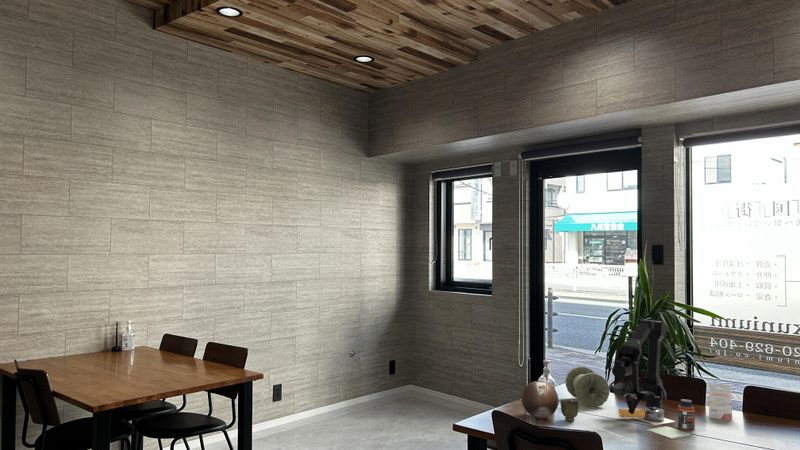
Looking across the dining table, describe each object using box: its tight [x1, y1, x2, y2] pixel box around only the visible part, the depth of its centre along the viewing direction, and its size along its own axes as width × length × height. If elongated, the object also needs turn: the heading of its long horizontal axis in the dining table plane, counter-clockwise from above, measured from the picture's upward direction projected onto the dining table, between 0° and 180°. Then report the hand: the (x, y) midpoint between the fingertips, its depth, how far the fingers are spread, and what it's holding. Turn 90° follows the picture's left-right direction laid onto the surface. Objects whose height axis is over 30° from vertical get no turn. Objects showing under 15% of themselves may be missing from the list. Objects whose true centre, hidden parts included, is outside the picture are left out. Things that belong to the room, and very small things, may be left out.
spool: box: [565, 366, 610, 409], centre depth 267 cm, size 16×15×15 cm
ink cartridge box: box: [707, 382, 733, 421], centre depth 243 cm, size 9×5×15 cm, turn 62°
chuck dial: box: [618, 406, 665, 422], centre depth 239 cm, size 18×8×5 cm, turn 91°
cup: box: [559, 399, 580, 423], centre depth 237 cm, size 8×7×8 cm
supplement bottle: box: [677, 398, 696, 431], centre depth 227 cm, size 6×6×11 cm
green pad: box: [646, 425, 692, 440], centre depth 221 cm, size 11×11×1 cm
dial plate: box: [631, 417, 677, 426], centre depth 239 cm, size 12×12×1 cm
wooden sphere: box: [521, 380, 560, 419], centre depth 242 cm, size 15×15×15 cm
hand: (632, 414), depth 237 cm, fingers closed
